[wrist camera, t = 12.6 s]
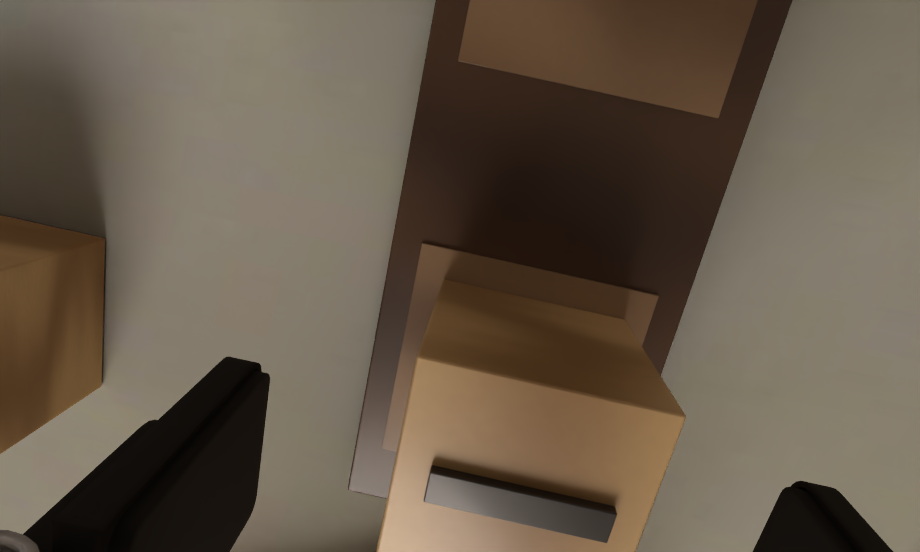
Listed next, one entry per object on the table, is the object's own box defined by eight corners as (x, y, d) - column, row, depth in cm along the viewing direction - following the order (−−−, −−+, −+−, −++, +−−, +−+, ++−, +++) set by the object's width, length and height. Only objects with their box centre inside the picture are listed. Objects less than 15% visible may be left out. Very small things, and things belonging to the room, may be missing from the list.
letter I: (409, 437, 16) (368, 581, 11) (443, 278, 15) (415, 361, 10) (575, 474, 16) (610, 636, 11) (625, 319, 15) (692, 423, 10)
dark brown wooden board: (503, -337, 12) (503, -382, 11) (863, -259, 12) (899, -296, 11) (355, 470, 18) (346, 492, 17) (595, 524, 18) (601, 550, 17)
